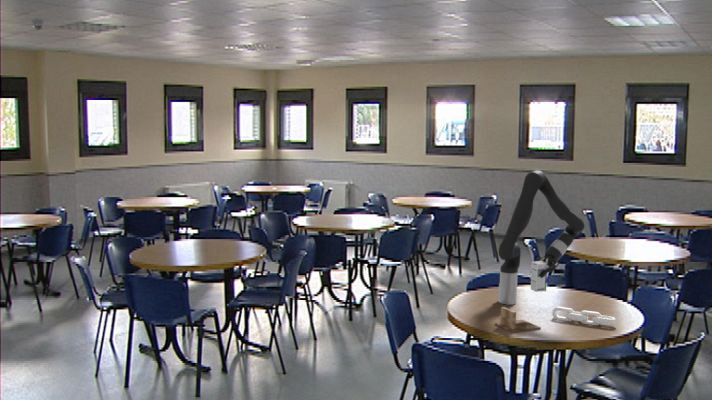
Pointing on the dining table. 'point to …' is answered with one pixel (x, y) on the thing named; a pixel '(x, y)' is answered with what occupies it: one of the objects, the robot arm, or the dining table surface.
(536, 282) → the syrup box
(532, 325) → the dock
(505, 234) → the robot arm
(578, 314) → the chain
